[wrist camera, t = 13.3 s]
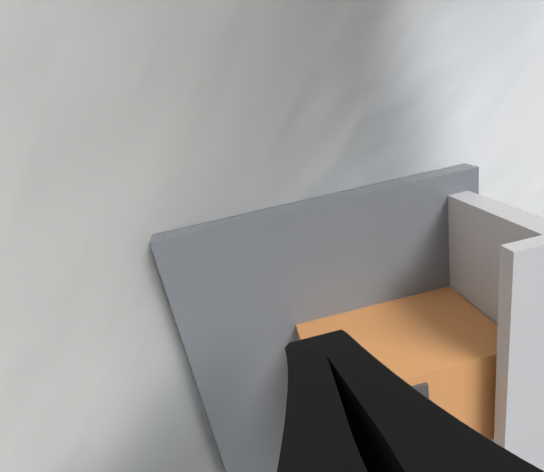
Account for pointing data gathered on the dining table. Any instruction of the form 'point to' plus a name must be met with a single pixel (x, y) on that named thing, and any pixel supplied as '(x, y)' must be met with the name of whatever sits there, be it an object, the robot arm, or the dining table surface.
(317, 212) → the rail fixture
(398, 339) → the block
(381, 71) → the dining table surface
